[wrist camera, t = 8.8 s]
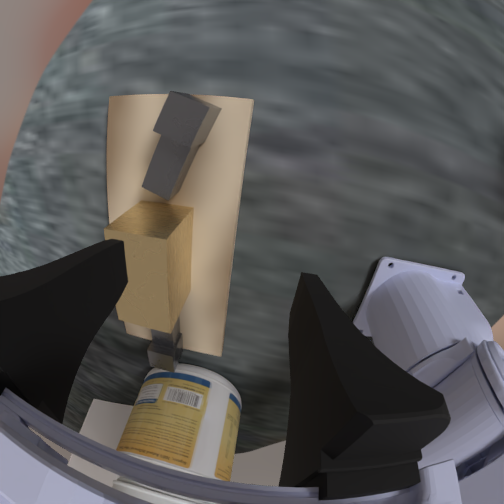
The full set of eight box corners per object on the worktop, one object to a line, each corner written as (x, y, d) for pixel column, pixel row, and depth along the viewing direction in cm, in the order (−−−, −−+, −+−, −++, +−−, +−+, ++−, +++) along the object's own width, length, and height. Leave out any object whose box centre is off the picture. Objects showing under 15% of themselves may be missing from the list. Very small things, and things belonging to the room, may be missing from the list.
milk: (143, 407, 36) (95, 543, 13) (175, 438, 41) (143, 553, 18) (93, 398, 38) (44, 509, 15) (126, 429, 43) (91, 528, 20)
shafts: (223, 95, 15) (211, 92, 12) (203, 354, 25) (195, 378, 23) (156, 93, 15) (134, 91, 12) (160, 344, 25) (150, 366, 23)
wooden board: (254, 100, 15) (252, 99, 15) (222, 349, 26) (221, 356, 25) (116, 96, 16) (109, 96, 15) (130, 327, 26) (126, 333, 25)
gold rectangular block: (193, 207, 18) (166, 239, 14) (190, 290, 22) (170, 333, 17) (141, 200, 18) (104, 228, 14) (145, 280, 22) (118, 319, 17)
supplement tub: (136, 381, 32) (92, 485, 17) (173, 342, 27) (115, 491, 12) (210, 419, 34) (187, 520, 20) (264, 392, 29) (249, 527, 14)
